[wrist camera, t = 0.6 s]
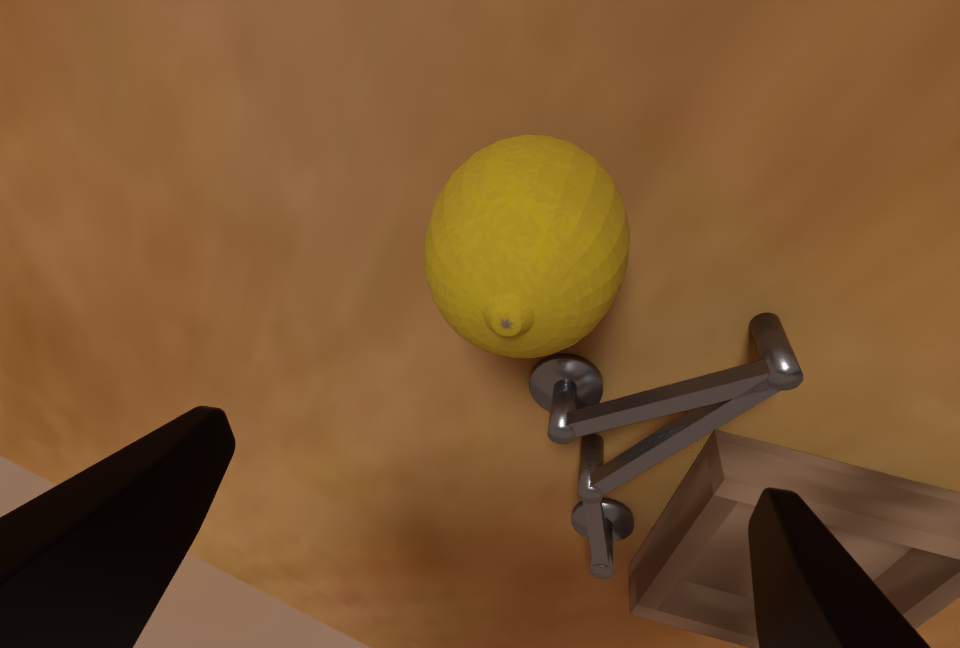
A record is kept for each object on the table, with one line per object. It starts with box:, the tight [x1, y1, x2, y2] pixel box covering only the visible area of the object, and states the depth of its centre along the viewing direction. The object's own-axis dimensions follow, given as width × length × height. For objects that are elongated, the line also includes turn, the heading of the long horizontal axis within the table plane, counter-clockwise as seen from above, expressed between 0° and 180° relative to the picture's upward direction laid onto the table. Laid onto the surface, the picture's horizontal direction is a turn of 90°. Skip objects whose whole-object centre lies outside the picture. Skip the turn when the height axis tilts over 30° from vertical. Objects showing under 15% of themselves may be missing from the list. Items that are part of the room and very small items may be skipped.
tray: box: [629, 430, 960, 648], centre depth 25 cm, size 11×11×3 cm
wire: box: [529, 313, 803, 579], centre depth 23 cm, size 8×15×3 cm, turn 170°
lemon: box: [425, 135, 630, 358], centre depth 16 cm, size 6×6×8 cm
